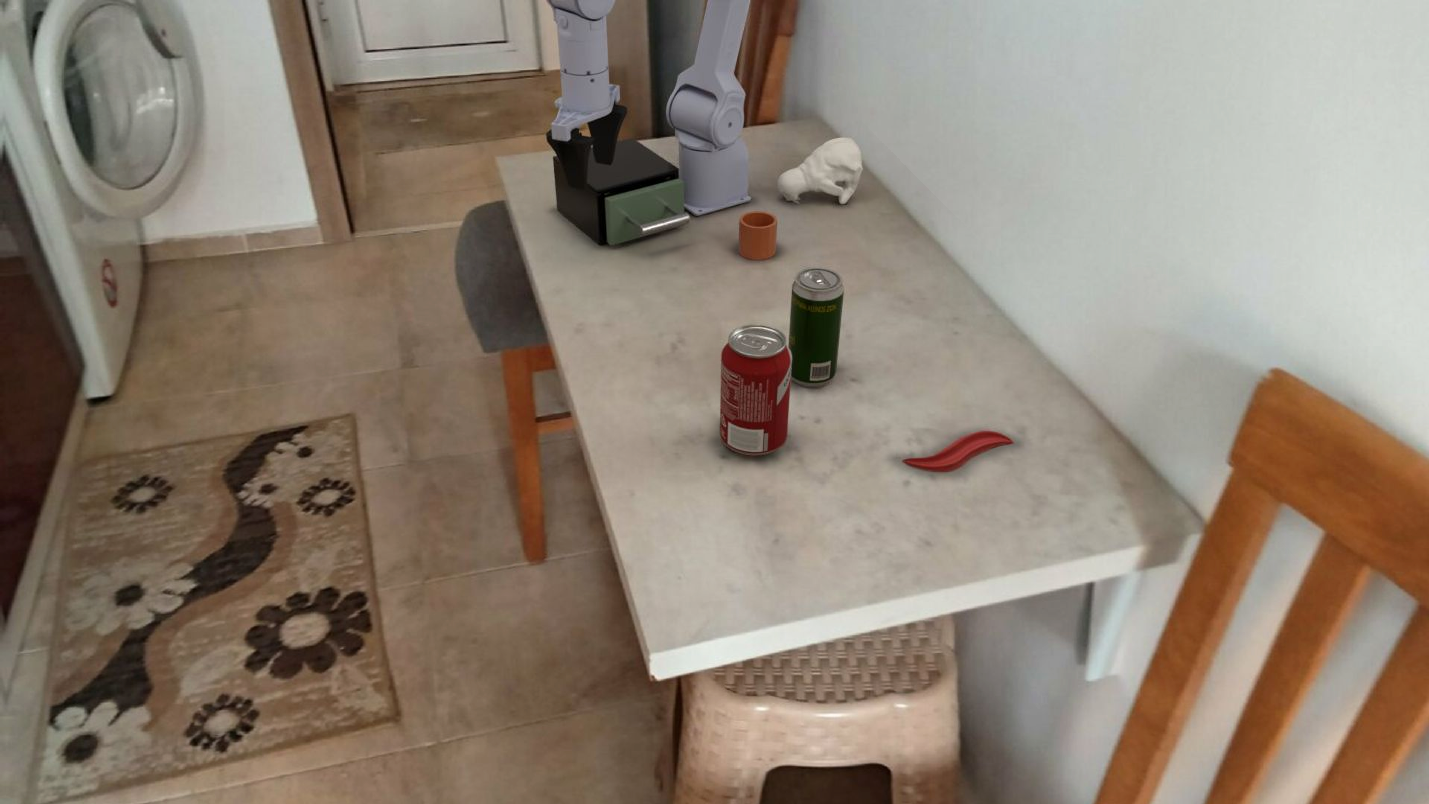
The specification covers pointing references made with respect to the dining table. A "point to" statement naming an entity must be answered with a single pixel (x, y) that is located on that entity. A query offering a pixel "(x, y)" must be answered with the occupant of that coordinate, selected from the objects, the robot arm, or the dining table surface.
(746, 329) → the soda can
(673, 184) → the green drawer
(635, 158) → the drawer cabinet
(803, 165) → the white lumpy figure
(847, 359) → the dining table surface
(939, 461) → the cayenne pepper
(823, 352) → the beer can
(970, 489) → the dining table surface
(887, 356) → the dining table surface
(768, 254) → the cup
